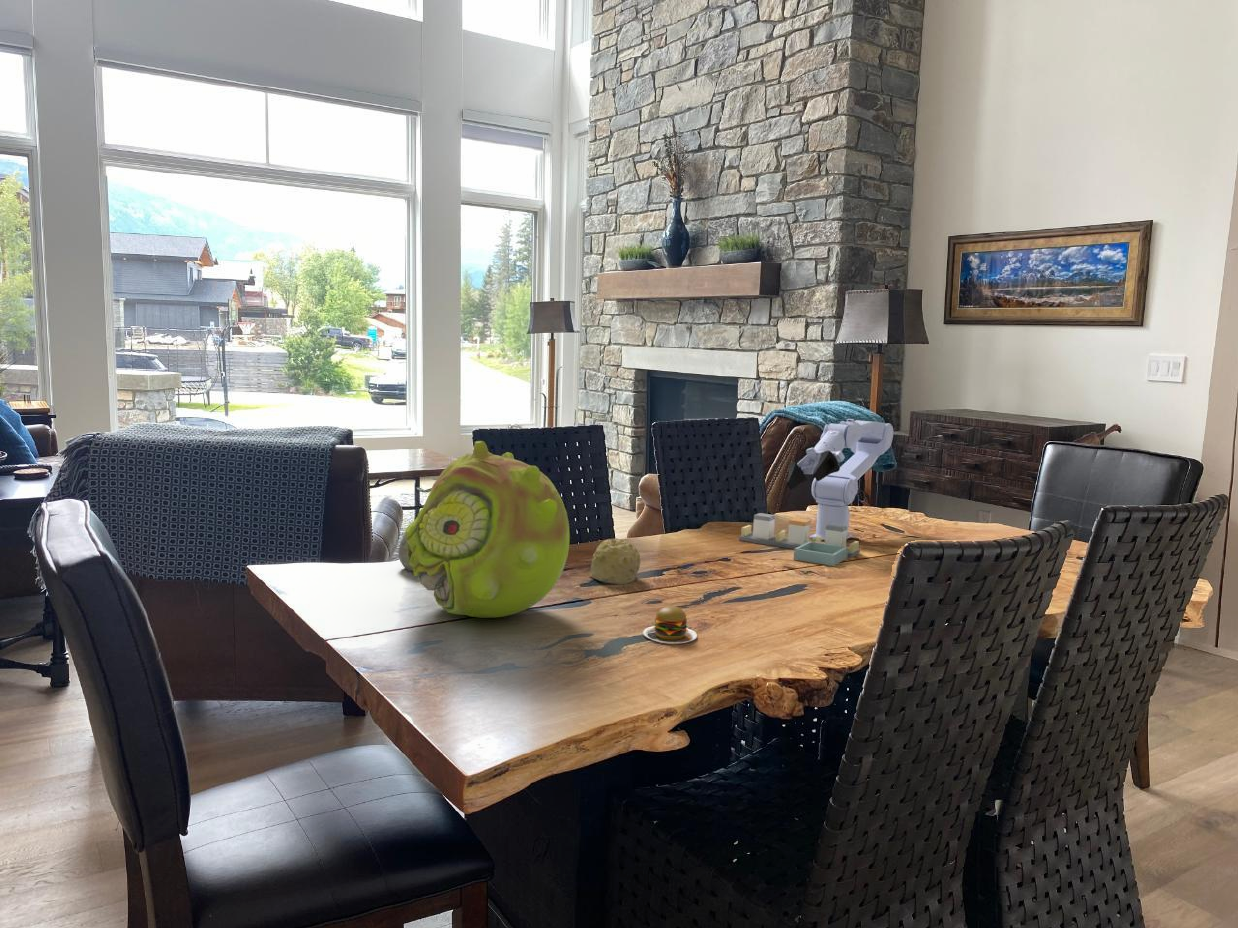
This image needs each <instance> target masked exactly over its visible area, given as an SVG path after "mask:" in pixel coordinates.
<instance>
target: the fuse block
mask: <svg viewBox="0 0 1238 928" xmlns="http://www.w3.org/2000/svg"><path fill="white" fill-rule="evenodd" d="M752 527H753V526H752V524H751V525H750V524H748V525H745V526H742V527H741V531H740V534H741V535H739V536H738V541H741V542H746V543H754V544H761V545H764V546H766V545H767V546H770V547H771V546H773V547H778V548H785V549H789V550H791V549H792V550H794V549H795V548H797V547H799V546H801V545H799V544H793V543H788V537H786V533H787V530H783V529H782V530H780V531H777V532H776V533H775V535H774V537H773V538H771V539H768V540H767V539H761V538H755V537H753V532H752ZM821 539H822V536H819V535H818V536H816V537H814V538H811V540H812V541H811V542H818V543H822V540H821ZM859 544H860V543H859V541H857V540H854V541H853V542H851V543H850V544H849V546H847V547H848V556H847V558H846V559H853V558H854V557H856V556H858V555H859V554H860V553H861V549H860V548H859Z"/></svg>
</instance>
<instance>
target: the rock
mask: <svg viewBox="0 0 1238 928" xmlns="http://www.w3.org/2000/svg"><path fill="white" fill-rule="evenodd" d="M640 565H641V554H640V553H639V550H638V548H636V546H634V544H632V543H630V542H629V541H627V540H625V539H620V538H608V539H604V540H603V541H602V542H600V544H599V545H598V546H597V547H596V550H595V551H594V552H593V555H592V559H591V567H590V573H589V575H590V576H589V577H590V578H591V579H594V580H596V581H599V582H602V583H605V584H613V585H627V584H630V583H632V582H634V581H635V580H636V579H637V578H638V577H637V576H638V575H637V573H638V572H639V570H640V567H641V566H640Z"/></svg>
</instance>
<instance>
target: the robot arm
mask: <svg viewBox="0 0 1238 928" xmlns="http://www.w3.org/2000/svg"><path fill="white" fill-rule="evenodd" d="M823 427H824V429H823V432H822V434H821V435H820V440H819V441H818V442H817V443H816V444H815V446H814V447H810V448H807V449H806V450H805V453H806V455H805V456H803V458H802V459H800V460H799V461H798V462H796V461H793V462H790V463H789V464H788V465H787V467H788V477H787V480H786V484H787V486H788V487H789V490H793V489H795V488H796V487H798V486H799V485H801V483H804V482H807V481H808V479H807V477H806V475H813V476H814V478H813V481H812V483H811V495H812V497H813V499H814V500H815V503H817V513H816V514H817V515H816V526H815V527H816V528H815V533H814V534H812V535H809V539H812V538H814V537H816V536H818V535H819V536H822V539H821V541H825V531H826V525H828V524H830V523H834V524H841V525H847V537H846V540H848V539H850V538H852V537H853V535H852V534H849V530H850V529H849V528H850V519H851V518H850V517H851V516H850V515H851V513H850V508H849V506H848V505H850V504H851V503H852V502H854V501H855V497H856V496H857V494H858V489H859V486H858V485H859V482H858V480H859V479H860V478H861V477H862V476H863V475H864V474H866V472H868V470H870V469H871V468H872V467H873V465H874V464H875V463H876V461H877V460H878V459H879V457H880V456H881V455H884V454H885V453H886V452H887V451H888V450H889V449H890V448H891V446H892V442H893V438H894V428H893V425H892V424H891V423H886V422H879V421H872V420H871V421H868V420H858V419H857V420H855V419H854V418H847V419H846V421H844V420H842V421H839V423H829V424H826V423H825V426H823ZM847 448H848V449H850V451H851V452H852V453H853V455H852V456H851V457H850V458H849V459H847V461H845V462H844V463H843V464H842V465H841V466H839V463H842V462H843V461H844V460H845V458H846V456H845V454H844V453H843V450H844V449H847Z"/></svg>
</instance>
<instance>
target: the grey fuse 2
mask: <svg viewBox="0 0 1238 928" xmlns="http://www.w3.org/2000/svg"><path fill="white" fill-rule="evenodd" d="M846 537H847V525H841V524H834V523H830V524H828V525H826V531H825V540H824V544H831V545H837V546H844V547H847V546H846V545H847V539H846Z"/></svg>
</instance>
